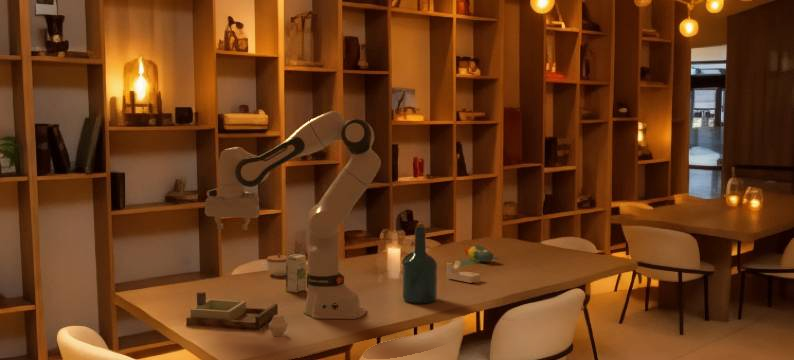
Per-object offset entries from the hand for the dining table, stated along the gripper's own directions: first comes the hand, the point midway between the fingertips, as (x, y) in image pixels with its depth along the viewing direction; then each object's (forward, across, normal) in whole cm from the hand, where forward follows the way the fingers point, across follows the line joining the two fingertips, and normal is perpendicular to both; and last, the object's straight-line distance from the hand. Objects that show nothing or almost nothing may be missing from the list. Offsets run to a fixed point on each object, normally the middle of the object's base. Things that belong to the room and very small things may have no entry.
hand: (232, 229), depth 266 cm
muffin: (+29, -28, +28) cm, 49 cm away
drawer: (+28, -1, +16) cm, 32 cm away
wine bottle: (+29, -65, -26) cm, 76 cm away
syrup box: (+29, -14, -29) cm, 44 cm away
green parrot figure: (+30, -81, -104) cm, 135 cm away
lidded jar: (+29, +3, -55) cm, 62 cm away
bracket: (+30, -78, -63) cm, 105 cm away
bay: (+29, -7, +16) cm, 34 cm away
